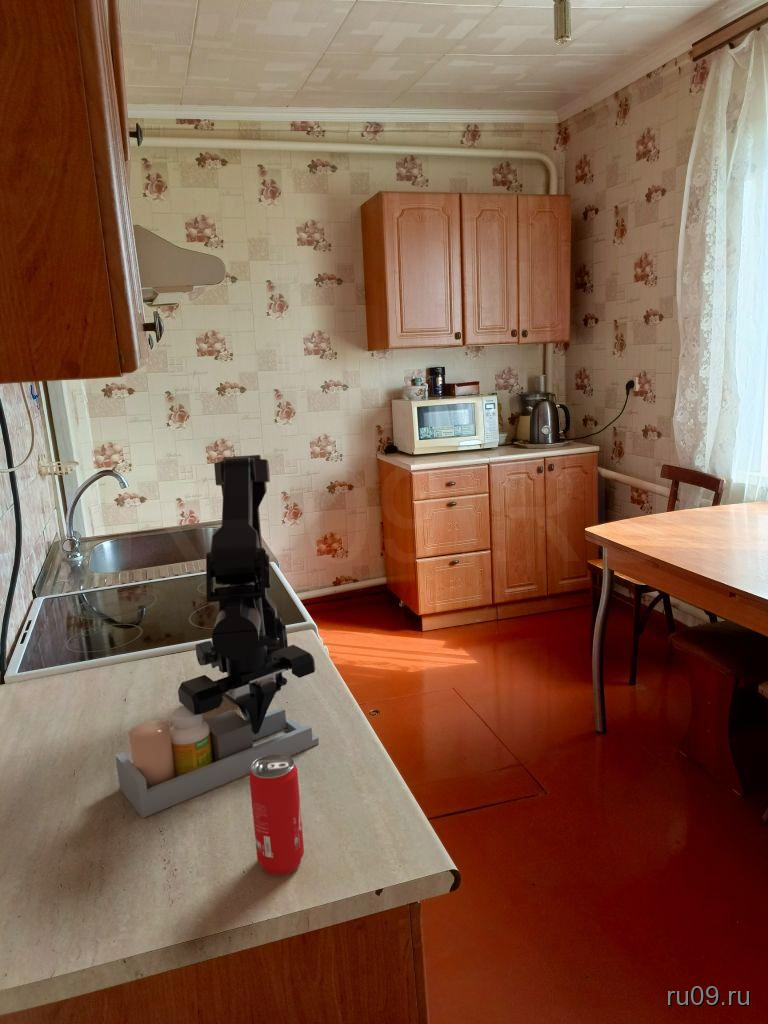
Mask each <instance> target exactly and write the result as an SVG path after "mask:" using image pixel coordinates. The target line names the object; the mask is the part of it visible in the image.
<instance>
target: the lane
mask: <svg viewBox="0 0 768 1024" xmlns="http://www.w3.org/2000/svg"><path fill="white" fill-rule="evenodd" d="M286 716H287V714H286V709H285V708H283V707H279V708H276V709H274V710H271V711H267V712H266V715H265V717H264V720H263V723H262V725H261V728H260V731H259V733H257V734H254V733H252V739H253V742H255V741H256V740H259V739H261V738H264V737H267V736H270V735H272V734H274V733H277V732H279V731H282V730H285V729H287V730H289V731H290V732H286V733H285V734H282V735H279V736H277V737H274V738H271V739H269V740H266V741H265V742H262V743H259V744H257V745H253V747H252V748H249V749H247V750H244V751H241V752H239V753H236V754H234V755H231V756H229V757H226V758H224V759H221V760H219V761H216V762H214V763H211V764H209V765H206V766H204V767H201V768H199V769H196V770H194V771H191V772H189V773H186V774H184V775H181V776H179V777H176V778H174V779H171V780H169V781H166V782H164V783H161V784H158V785H156V786H153V787H151V788H148V789H147V785H146V779H145V778H144V776H143V775H142V774H141V773H140V772H139V771H138V769H137V768H136V767H135V766H134V765H133V761H132V760H130V759H129V758H128V756H127V755H126V754H125V753H124V752H123V751H122V752H119V753H117V754H115V755H114V756H115V763H116V769H117V777H118V786H119V790H120V791H121V793H122V794H124V796H125V797H126V799H127V801H129V803H130V804H131V806H133V808H134V809H135V810H136V812H137V813H138V814H139V815H140V817H141V818H142V819H144V818H147V817H148V816H151V815H154V814H156V813H158V812H161V811H163V810H165V809H168V808H171V807H173V806H175V805H178V804H180V803H182V802H184V801H187V800H190V799H191V798H194V797H197V796H200V795H201V794H204V793H206V792H209V791H211V790H213V789H215V788H218V787H220V786H222V785H225V784H227V783H230V782H233V781H235V780H237V779H239V778H242V777H245V776H246V775H249V773H250V771H251V765H252V764H253V762H254V761H255V760H257V759H258V758H260V757H263V756H265V755H269V754H285V755H288V756H290V757H292V756H294V755H297V754H299V753H302V752H304V751H306V750H308V748H309V747H311V748H313V747H315V746H314V745H316V746H318V745H319V744H320V741H319V737H318V736H316V735H315V734H313V731H312V730H313V729H312V727H311V726H310V725H308V724H307V725H305V726H302V725H301V724H299V723H298V722H296V721H295V720H293V719H292V718H290V717H286ZM317 744H318V745H317ZM312 746H313V747H312ZM305 749H306V750H305ZM309 749H310V748H309ZM303 750H304V751H303ZM301 751H302V752H301ZM296 753H297V754H296Z"/></svg>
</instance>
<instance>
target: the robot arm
mask: <svg viewBox="0 0 768 1024" xmlns="http://www.w3.org/2000/svg"><path fill="white" fill-rule="evenodd" d="M213 465H214V466H213V467H214V477H215V479H214V480H215V486H217V487H220V486H221V495H222V508H221V509H222V511H221V512H222V513H221V526H220V527H219V528H218V529H217V530H216V531H215V532H214V534H212V535H211V541H210V542H211V544H210V551H206V556H205V557H206V558H205V561H206V562H205V565H206V566H205V569H206V570H205V573H206V574H205V576H206V578H205V579H206V582H205V583H206V587H205V588H206V603H214V602H215V603H216V602H217V603H218V607H219V609H218V610H219V611H218V613H217V616H216V620H215V623H214V626H213V630H212V633H211V640H207V641H203V642H199V643H196V644H195V654H196V659H197V663H198V664H199V666H207V665H210V664H211V669H215V668H217V667H218V671H219V672H221V673H222V674H224V673H227V674H226V675H227V676H225V677H222V678H219V679H216V680H213V679H211V678H210V677H209V676H207V675H206V674H203V675H200V676H198V677H193V678H191V679H188V680H185V681H182V682H181V684H180V686H179V688H178V691H177V693H178V701H179V703H181V704H182V706H185V707H186V708H188V709H189V710H190V711H191V712H192V713H194V714H195V715H201V714H202V715H203V714H206V713H209V712H211V711H214V710H216V709H217V710H218V709H219V708H220V706H221V705H222V703H223V702H224V698H225V699H227V700H228V701H230V702H231V703H232V704H234V705H235V706H237V707H238V709H239V711H240V712H241V714H242V717H243V718H244V719H245V720H246V721H247V722H249V723H250V724H251V729H252V733H254V734H257V733H259V731H260V728H261V725H262V723H263V720H264V717H265V715H266V713H268V710H269V707H270V706H271V704H272V702H273V699H274V697H275V695H276V693H277V692H280V691H281V690H282V685H283V684H284V685H285V684H286V683H288V679H287V678H286V677H284V676H283V672H286V671H289V670H291V674H292V675H294V676H295V677H296V678H298V679H300V678H303V677H305V676H308V675H310V674H313V673H315V672H316V662H315V658H314V656H313V654H311V652H308V651H307V650H304V649H303V648H300V647H299V646H297V645H295V644H291V645H288V643H289V642H288V633H287V626H286V624H285V623H283V620H282V617H281V616H279V617H278V611H277V605H276V603H274V601H273V600H272V598H271V597H270V596H269V594H268V592H267V589H271V588H272V587H271V568H270V567H271V565H270V564H271V563H270V555H269V554H267V552H266V549H265V547H263V544H262V543H263V540H262V530H261V529H262V528H261V517H260V505H261V504H262V502H263V499H264V497H265V495H266V494H267V487H268V486H267V483H270V482H271V480H270V479H271V478H270V464H269V461H268V459H265V458H264V459H263V458H262V456H261V454H251V455H239V456H238V455H235V456H234V455H233V456H224V457H223V458H222V459H221V460H220V461H217V462H214V463H213ZM214 583H215V585H217V586H221V587H214ZM226 585H227V586H226Z"/></svg>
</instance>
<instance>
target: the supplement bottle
mask: <svg viewBox="0 0 768 1024" xmlns="http://www.w3.org/2000/svg"><path fill="white" fill-rule="evenodd" d="M170 719H171V725H172V726H171V727H169V729H170V737H171V745H172V753H173V761H174V769H175V777H179V776H181V775H184V774H186V773H189V772H191V771H194V770H196V769H199V768H201V767H204V766H206V765H209V764H211V763H213V757H212V748H211V739H210V730H209V726H208V724H207V723H206V722H205V721H204V718H203V714H201V715H195V714H194V713H192V712H191V711H190V710H189V709H188V708H186V707H185V706H184V705H181V706H178V707H176V708H174V709H173V710H172V712H171V713H170Z"/></svg>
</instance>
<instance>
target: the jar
mask: <svg viewBox="0 0 768 1024" xmlns="http://www.w3.org/2000/svg"><path fill="white" fill-rule="evenodd" d="M128 737H129V738H128V740H129V745H130V746H129V747H130V751H131V753H130V754H131V762H132V763H133V765H134V766H135V767H136V768H137V769H138V771H139V772H140V773H141V774H142V775H143V776H144V778H145V779H146V785H147V789H148V788H151V787H153V786H156V785H158V784H161V783H164V782H166V781H169V780H171V779H174V778H176V777H175V769H174V761H173V753H172V745H171V737H170V724H169V723H168V722H166V721H164V720H159V719H158V720H147V721H144V722H141V723H138V724H137V725H134V726H133V727H132V728H131V729H130V730H129V731H128Z"/></svg>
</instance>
